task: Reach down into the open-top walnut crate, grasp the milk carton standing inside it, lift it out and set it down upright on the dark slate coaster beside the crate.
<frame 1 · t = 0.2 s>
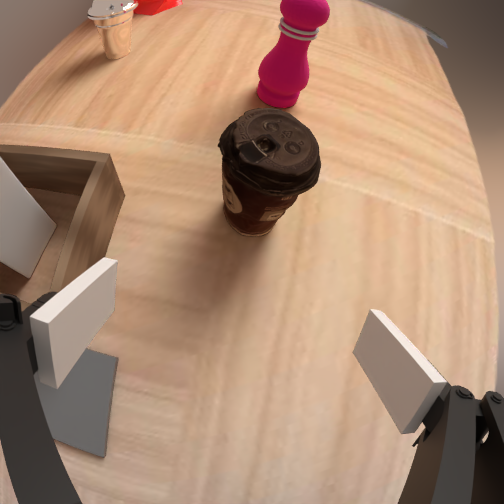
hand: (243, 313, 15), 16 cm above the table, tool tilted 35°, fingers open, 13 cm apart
coaster: (63, 392, 25), on the table
milk carton: (25, 241, 29), resting in crate
coffee cup: (249, 211, 35), on the table
cup with straw: (117, 54, 42), on the table
crate: (24, 240, 29), on the table
vase: (154, 4, 50), on the table
pepper mill: (276, 95, 42), on the table
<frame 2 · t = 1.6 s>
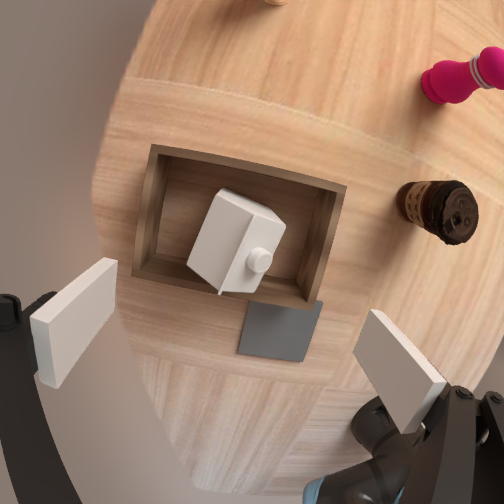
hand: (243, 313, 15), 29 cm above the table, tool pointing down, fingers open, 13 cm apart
coaster: (279, 327, 47), on the table
milk carton: (235, 219, 43), resting in crate
coffee cup: (410, 202, 44), on the table
crate: (235, 220, 43), on the table
pepper mill: (434, 87, 39), on the table
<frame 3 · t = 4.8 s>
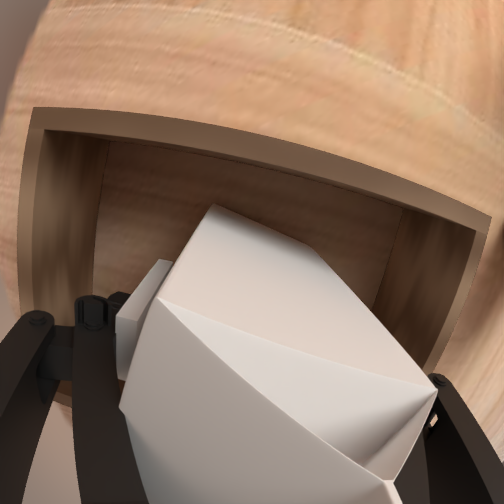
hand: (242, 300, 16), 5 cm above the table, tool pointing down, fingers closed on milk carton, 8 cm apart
milk carton: (240, 270, 21), resting in crate, touching gripper
crate: (240, 271, 21), on the table
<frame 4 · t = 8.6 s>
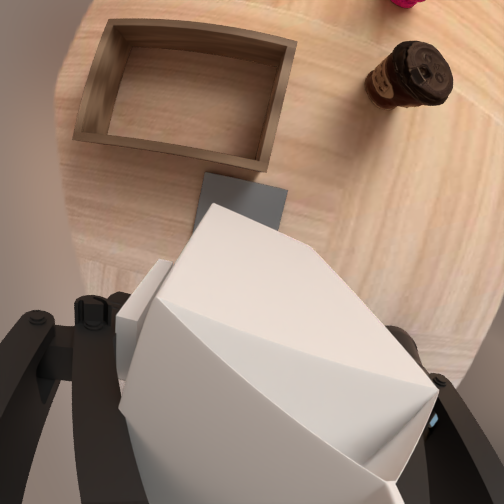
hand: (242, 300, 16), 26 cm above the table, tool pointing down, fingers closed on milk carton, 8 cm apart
coaster: (237, 220, 41), on the table
milk carton: (240, 270, 21), point 21 cm above the table, touching gripper
coffee cup: (381, 89, 37), on the table
crate: (188, 97, 36), on the table
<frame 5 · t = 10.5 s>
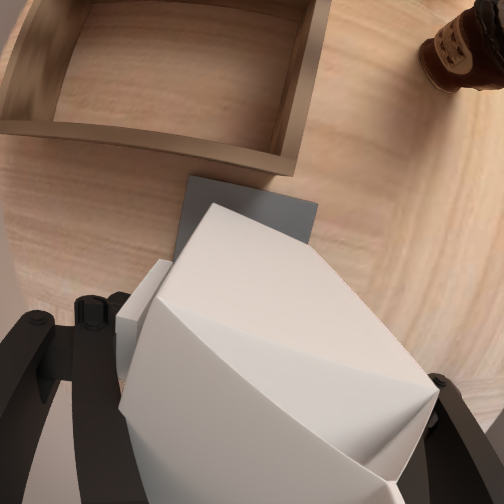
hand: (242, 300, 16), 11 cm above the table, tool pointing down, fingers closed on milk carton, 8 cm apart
coaster: (240, 250, 27), on the table
milk carton: (240, 270, 21), point 6 cm above the table, touching gripper
coffee cup: (439, 66, 23), on the table
crate: (166, 64, 22), on the table
when the fingers open (6 cm above the table, at t = 12.3 s): milk carton stays where it is, resting on coaster.
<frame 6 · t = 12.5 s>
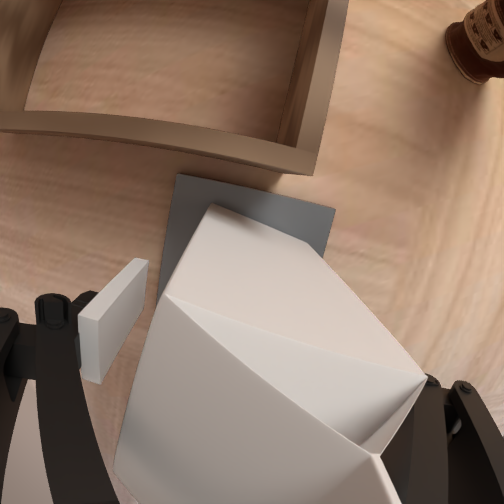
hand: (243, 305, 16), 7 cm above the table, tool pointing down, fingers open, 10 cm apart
coaster: (240, 265, 22), on the table
milk carton: (239, 268, 22), point 1 cm above the table, touching coaster
coffee cup: (466, 53, 18), on the table
crate: (152, 41, 17), on the table
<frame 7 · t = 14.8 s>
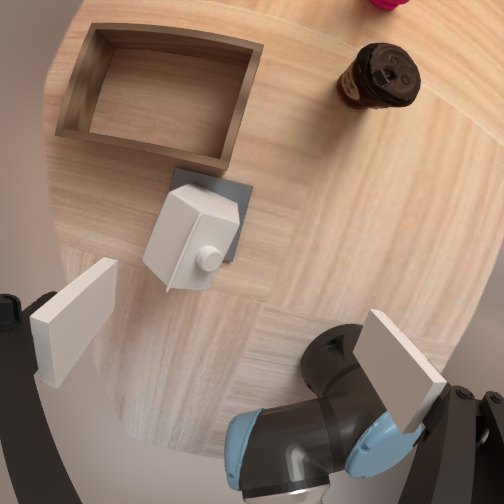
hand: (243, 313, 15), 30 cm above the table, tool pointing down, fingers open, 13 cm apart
coaster: (204, 214, 43), on the table
milk carton: (203, 215, 42), point 1 cm above the table, touching coaster
coffee cup: (354, 91, 39), on the table
crate: (164, 97, 38), on the table
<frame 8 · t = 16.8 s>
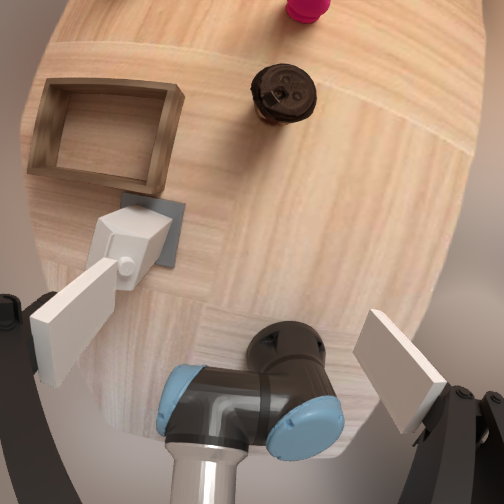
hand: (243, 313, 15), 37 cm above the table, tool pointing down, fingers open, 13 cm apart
coaster: (148, 229, 50), on the table
milk carton: (147, 230, 49), point 1 cm above the table, touching coaster
coffee cup: (273, 108, 46), on the table
crate: (111, 133, 45), on the table
pepper mill: (303, 10, 41), on the table
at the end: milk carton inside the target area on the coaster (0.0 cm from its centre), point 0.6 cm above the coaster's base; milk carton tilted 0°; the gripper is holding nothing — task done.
